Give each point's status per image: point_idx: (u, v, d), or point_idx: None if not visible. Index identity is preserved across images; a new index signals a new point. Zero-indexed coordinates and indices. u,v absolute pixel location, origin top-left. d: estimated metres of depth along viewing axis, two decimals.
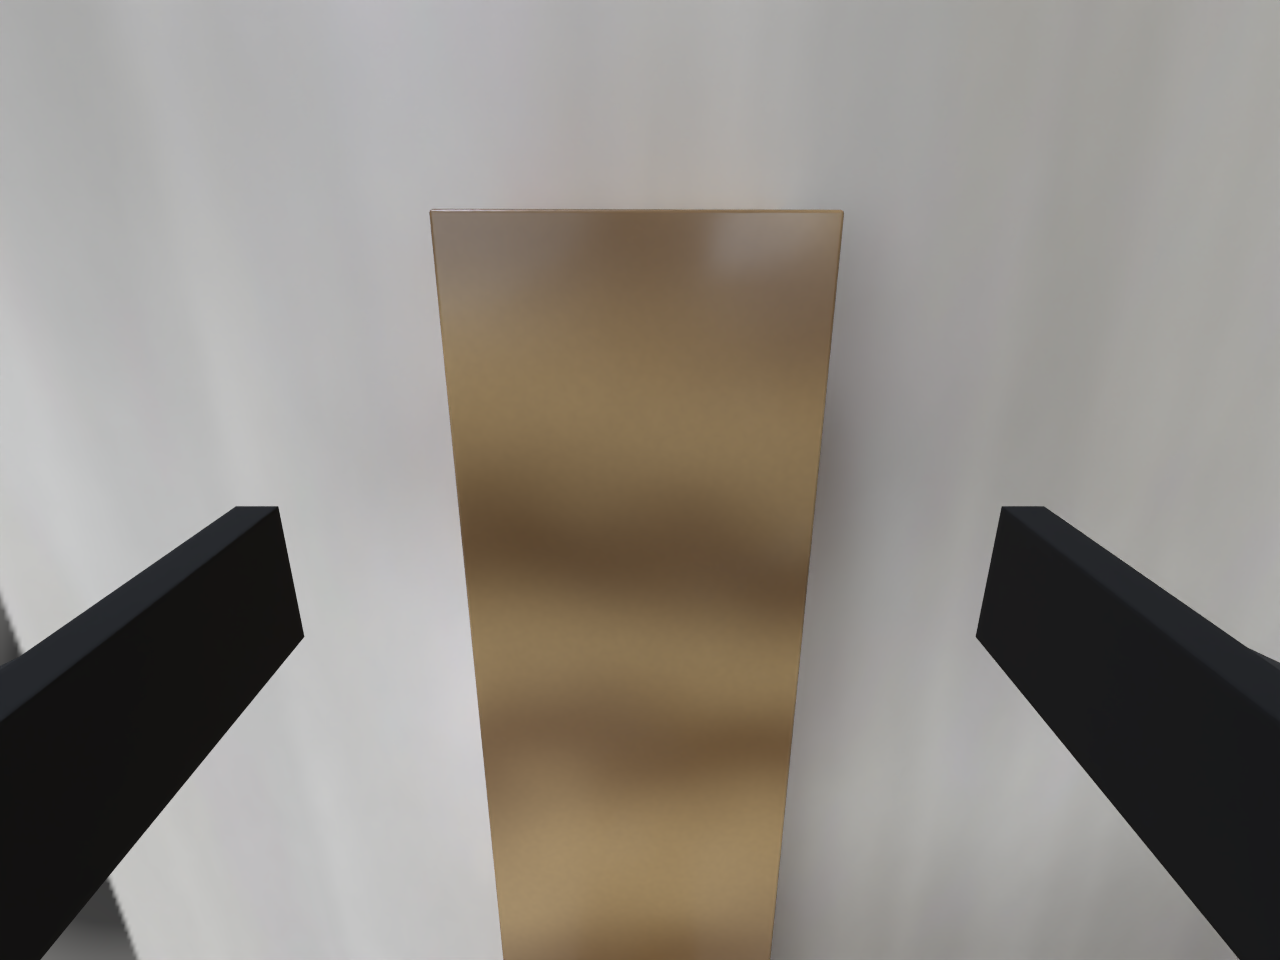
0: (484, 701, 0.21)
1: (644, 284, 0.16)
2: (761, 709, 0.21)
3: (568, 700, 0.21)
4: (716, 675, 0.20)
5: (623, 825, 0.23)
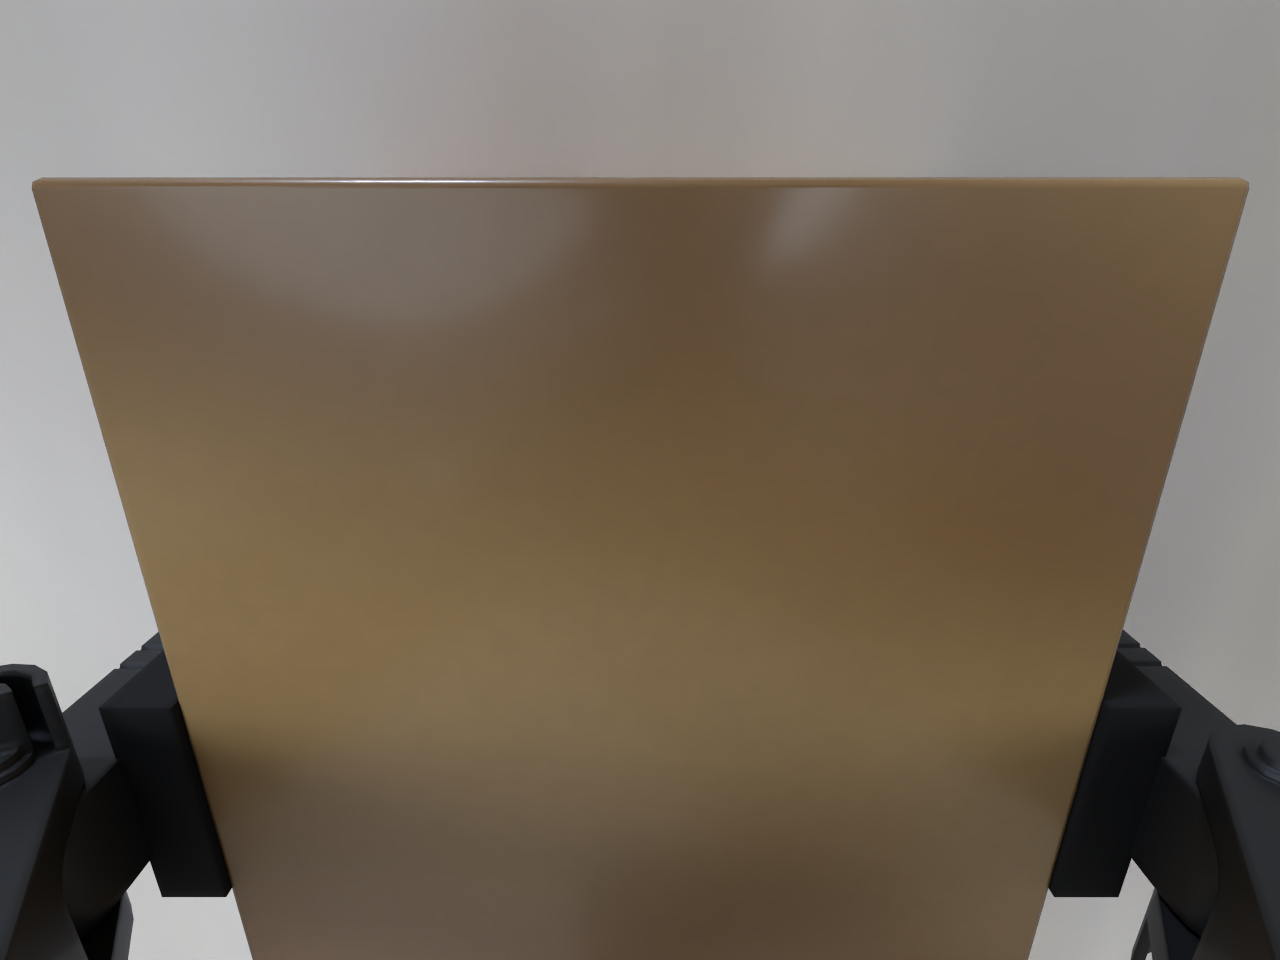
0: None
1: (661, 387, 0.06)
2: None
3: None
4: None
5: None
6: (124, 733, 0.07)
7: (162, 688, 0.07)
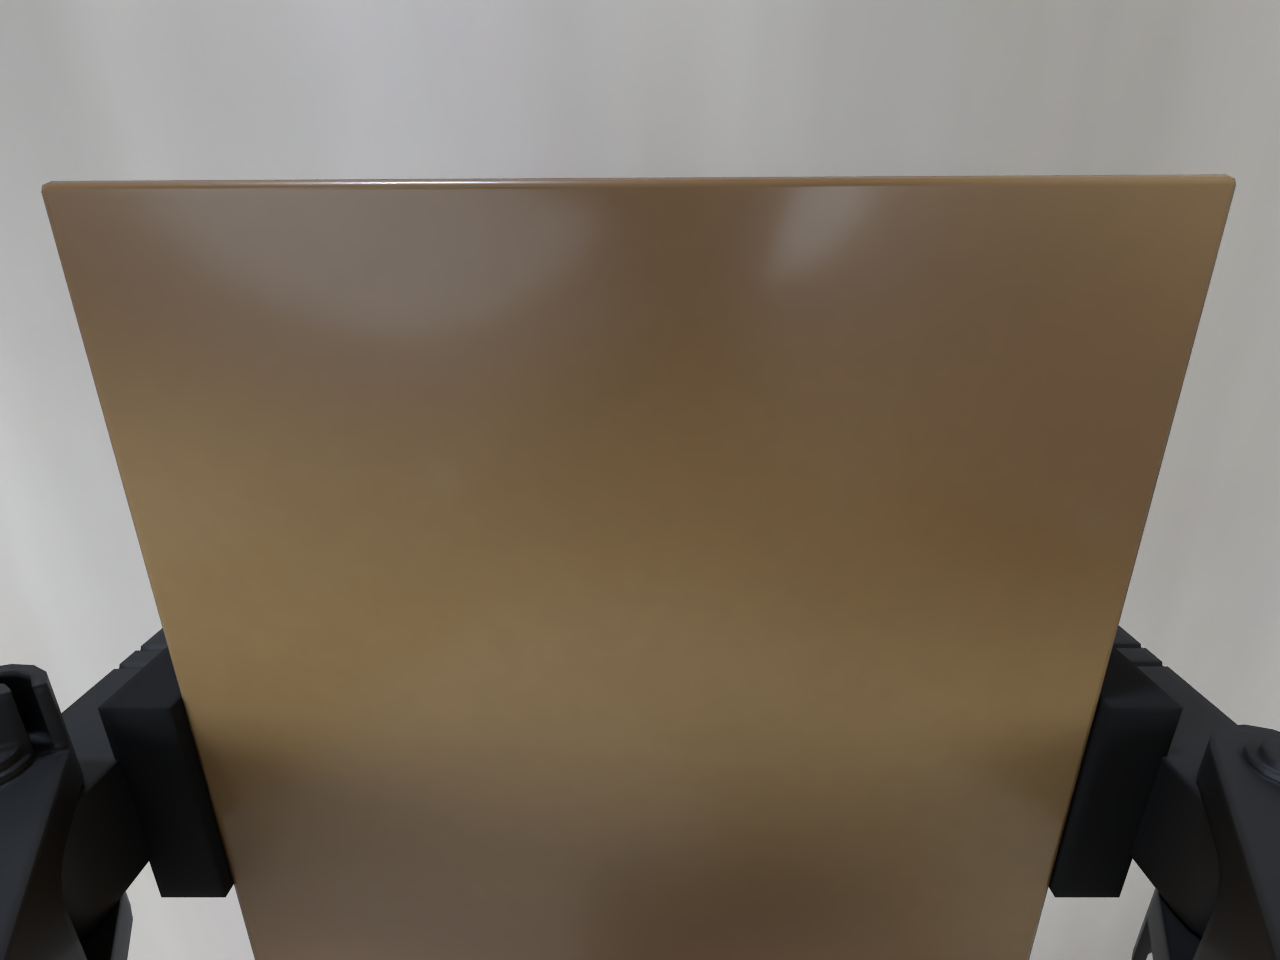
0: None
1: (658, 383, 0.06)
2: None
3: None
4: None
5: None
6: (123, 734, 0.07)
7: (161, 689, 0.07)
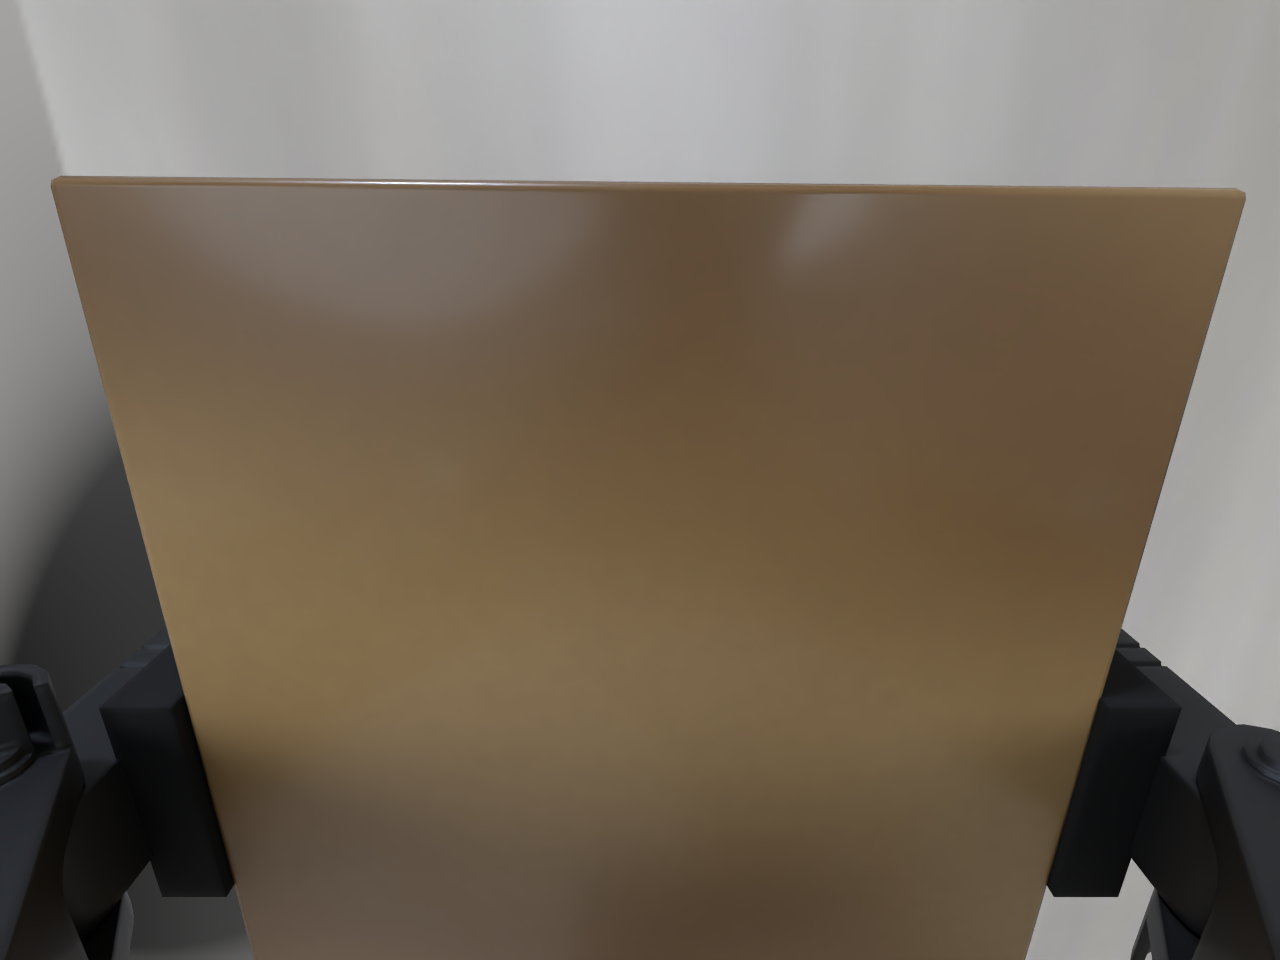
0: None
1: (668, 388, 0.06)
2: None
3: None
4: None
5: None
6: (124, 733, 0.07)
7: (162, 688, 0.07)
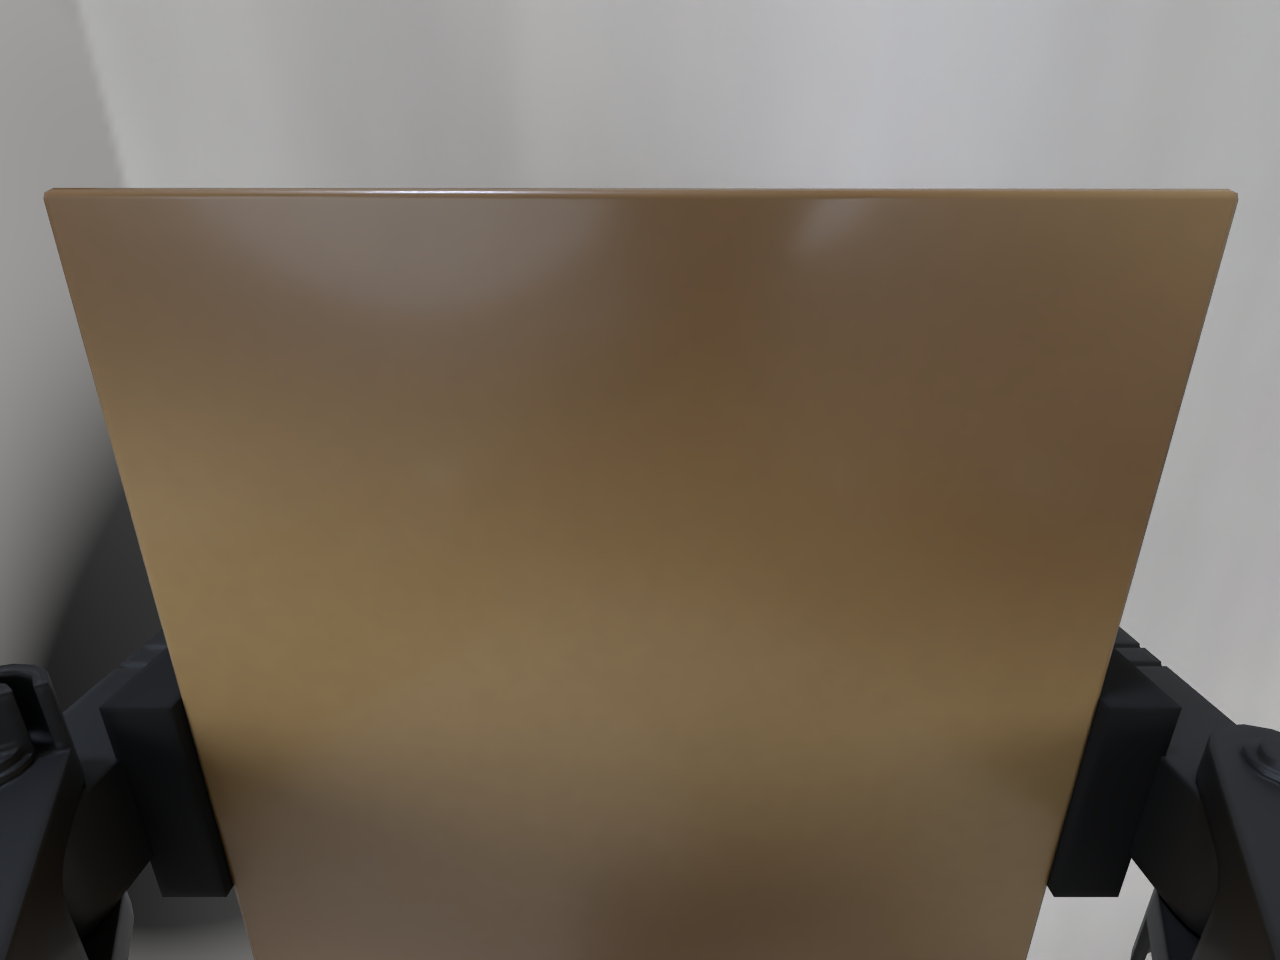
0: None
1: (662, 394, 0.06)
2: None
3: None
4: None
5: None
6: (125, 733, 0.07)
7: (163, 688, 0.07)
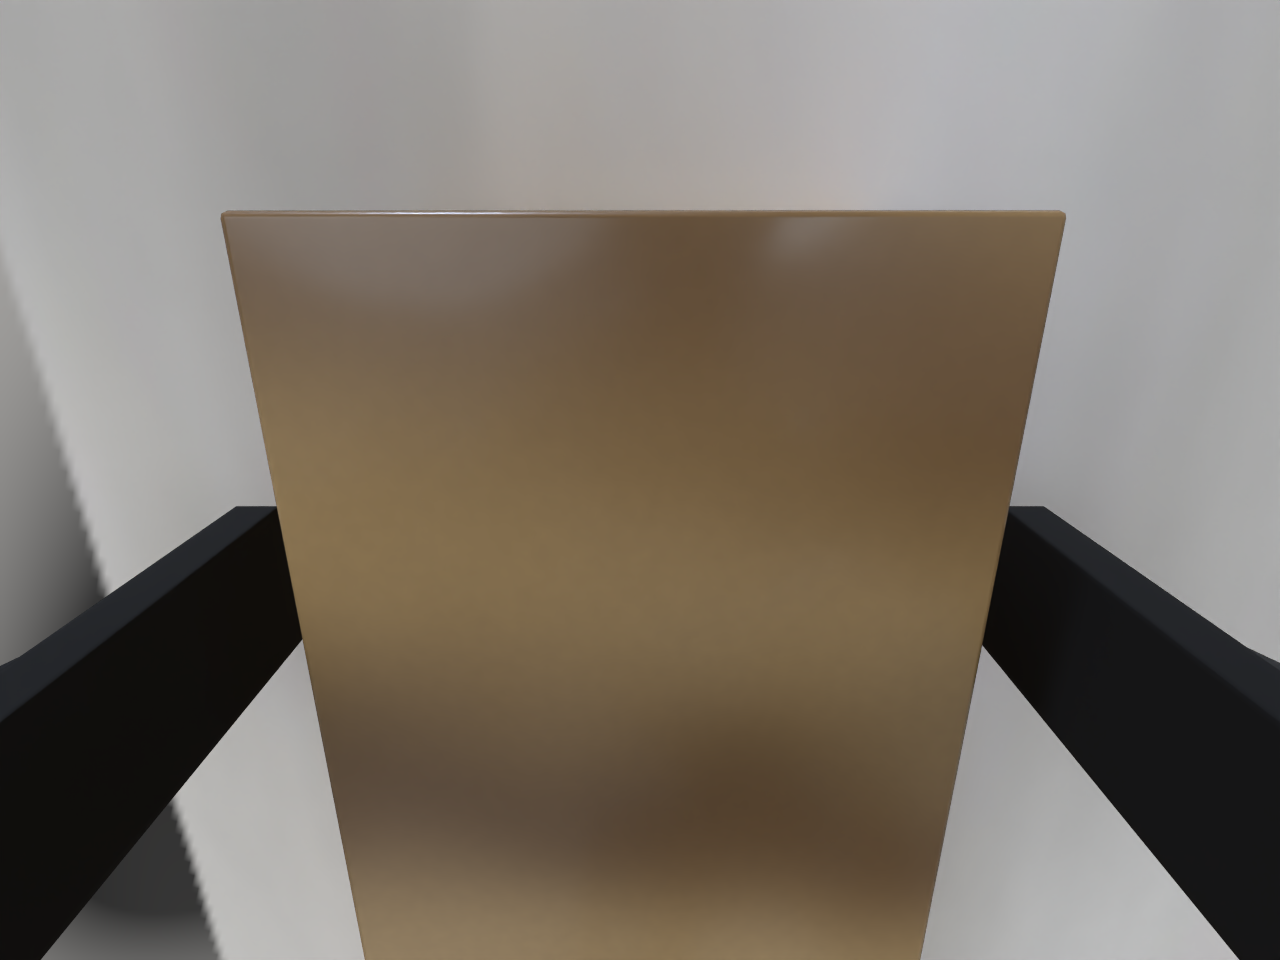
0: None
1: (660, 358, 0.08)
2: None
3: None
4: None
5: None
6: None
7: None
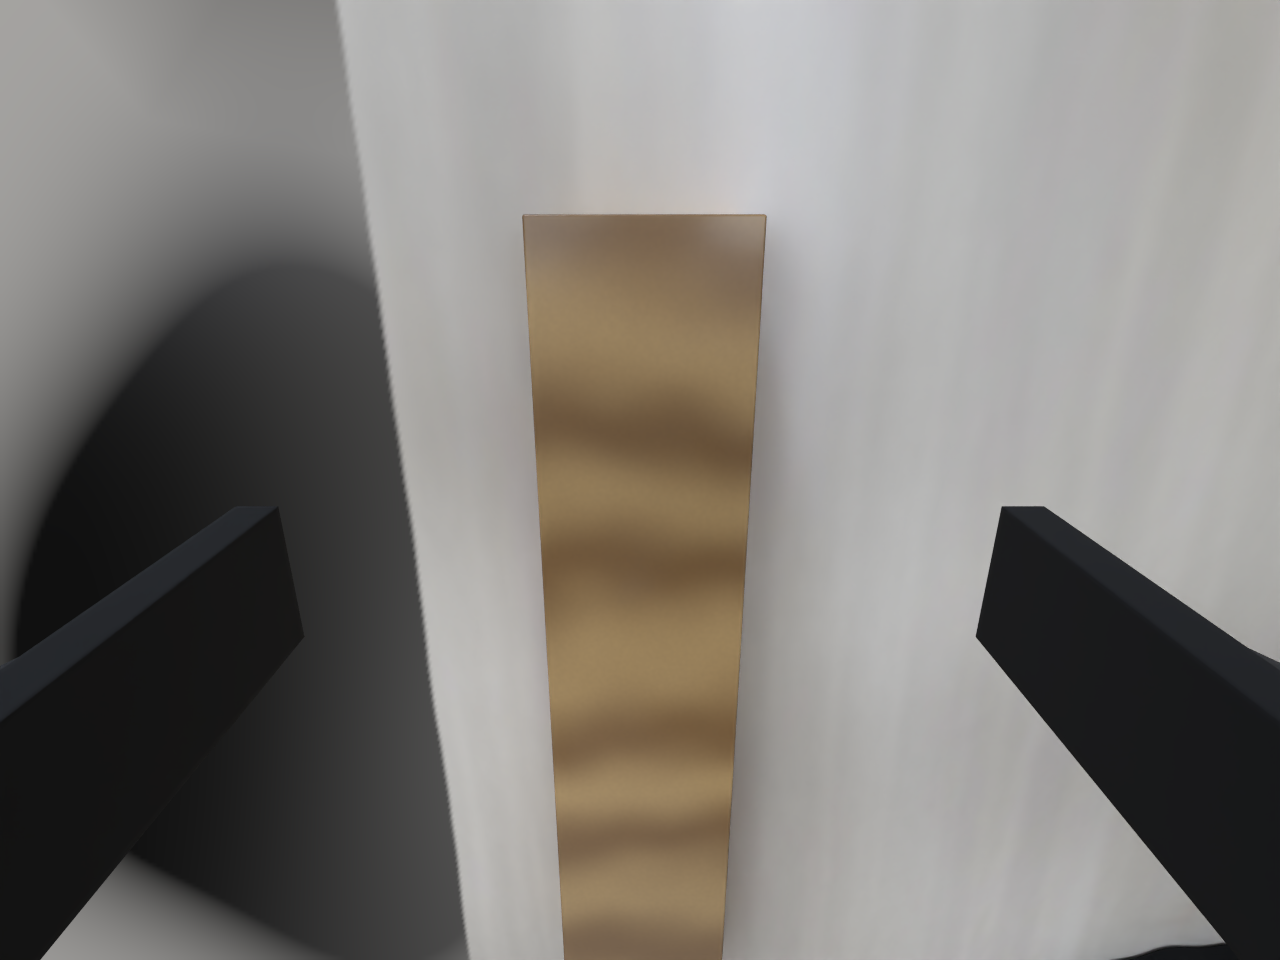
0: (544, 534, 0.32)
1: (649, 259, 0.28)
2: (725, 539, 0.32)
3: (599, 533, 0.32)
4: (695, 515, 0.32)
5: (635, 625, 0.34)
6: None
7: None
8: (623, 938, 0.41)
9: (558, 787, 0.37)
